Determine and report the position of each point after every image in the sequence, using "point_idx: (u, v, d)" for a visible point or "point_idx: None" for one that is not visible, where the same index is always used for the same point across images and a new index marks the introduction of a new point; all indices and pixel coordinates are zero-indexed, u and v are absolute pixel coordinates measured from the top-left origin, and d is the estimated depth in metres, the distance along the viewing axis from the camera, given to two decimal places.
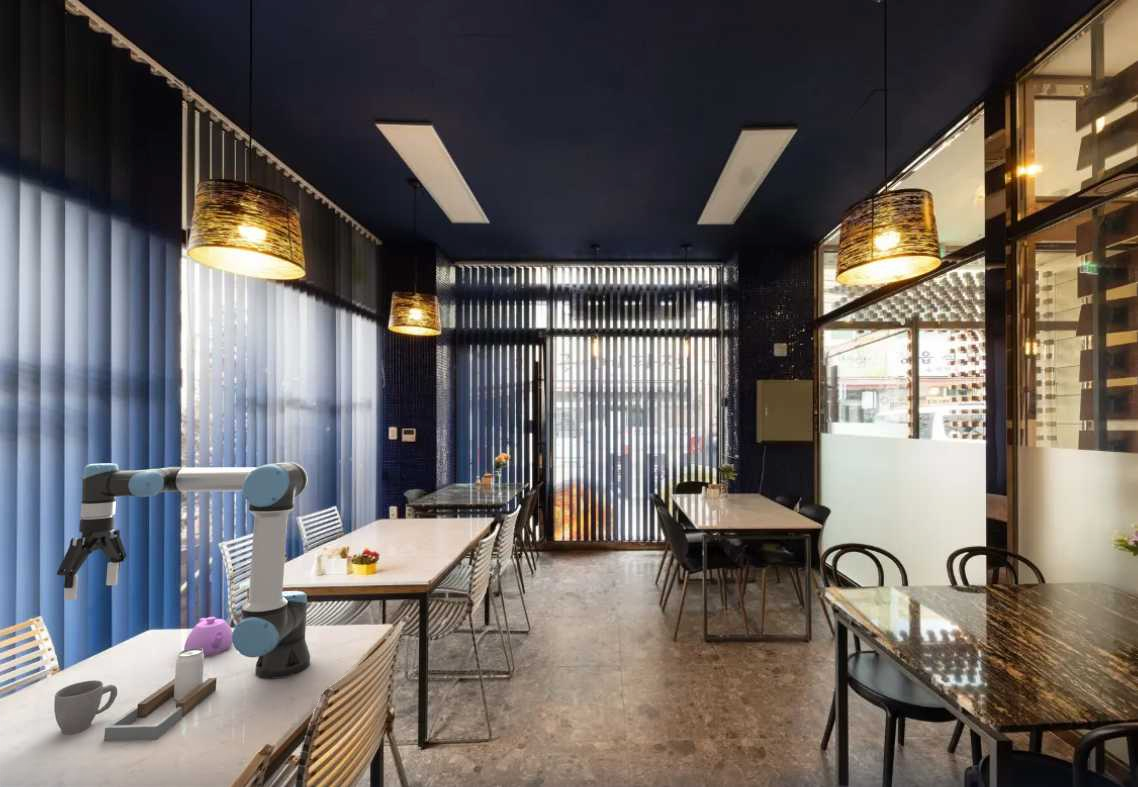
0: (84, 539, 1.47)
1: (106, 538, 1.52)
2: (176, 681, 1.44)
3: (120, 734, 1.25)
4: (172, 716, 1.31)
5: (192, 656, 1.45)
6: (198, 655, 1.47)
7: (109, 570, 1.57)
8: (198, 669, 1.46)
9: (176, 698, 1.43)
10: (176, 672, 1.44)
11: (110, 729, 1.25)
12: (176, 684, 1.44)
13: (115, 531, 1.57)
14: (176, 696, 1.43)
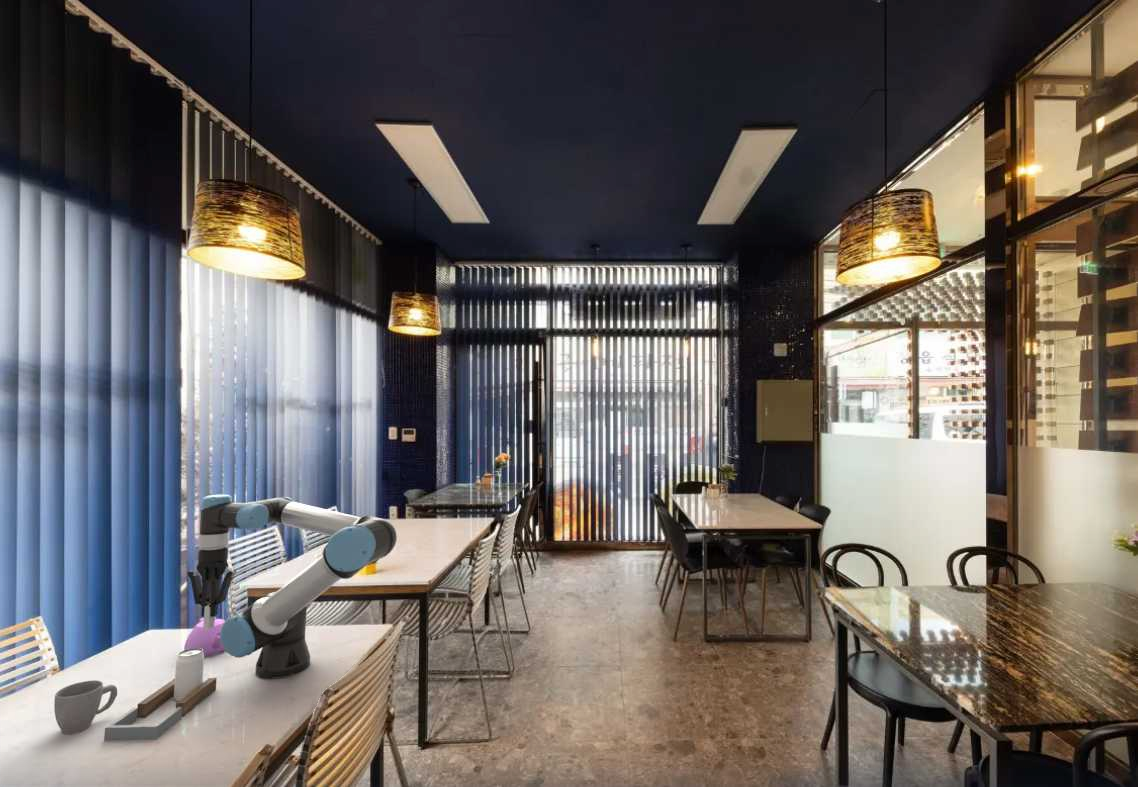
0: (196, 569, 1.56)
1: (212, 570, 1.55)
2: (176, 681, 1.44)
3: (120, 734, 1.25)
4: (172, 716, 1.31)
5: (192, 656, 1.45)
6: (198, 655, 1.47)
7: None
8: (198, 669, 1.46)
9: (176, 698, 1.43)
10: (176, 672, 1.44)
11: (110, 729, 1.25)
12: (176, 684, 1.44)
13: (229, 571, 1.56)
14: (176, 696, 1.43)
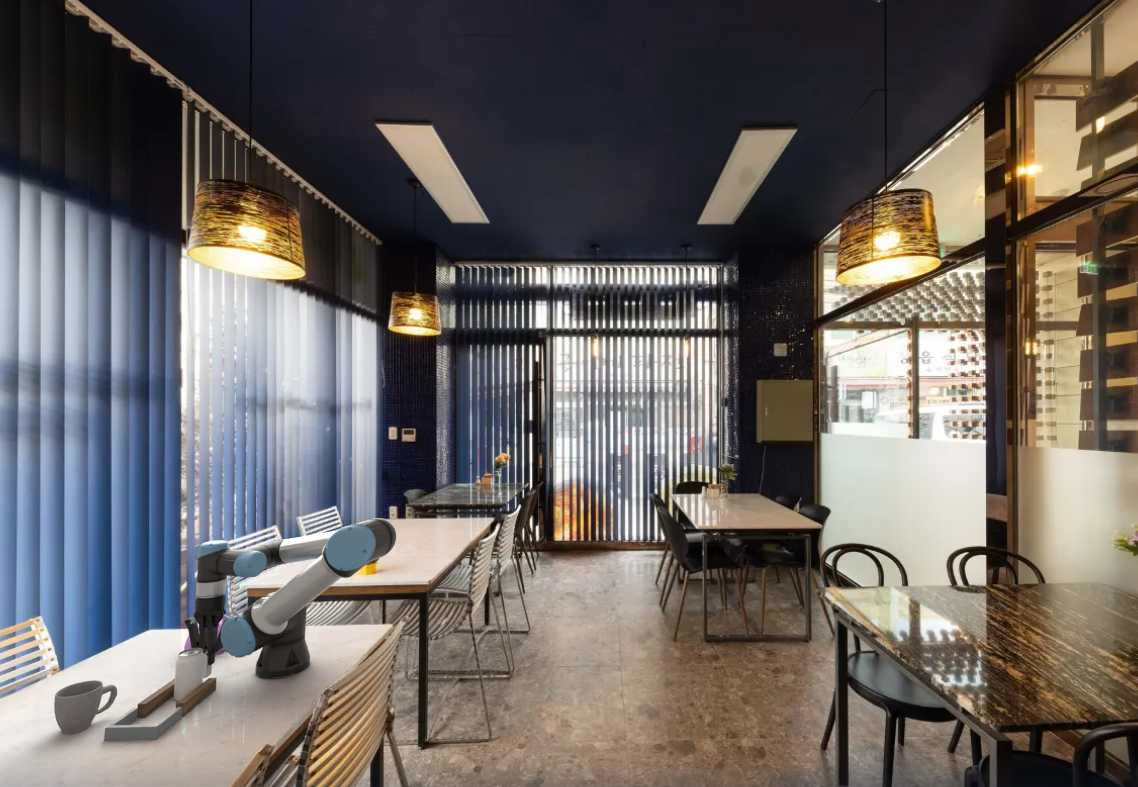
0: (193, 617, 1.55)
1: (210, 618, 1.54)
2: (176, 681, 1.44)
3: (120, 734, 1.25)
4: (172, 716, 1.31)
5: (192, 656, 1.45)
6: (198, 655, 1.47)
7: None
8: (198, 669, 1.46)
9: (176, 698, 1.43)
10: (176, 672, 1.44)
11: (110, 729, 1.25)
12: (176, 684, 1.44)
13: (226, 619, 1.55)
14: (176, 696, 1.43)
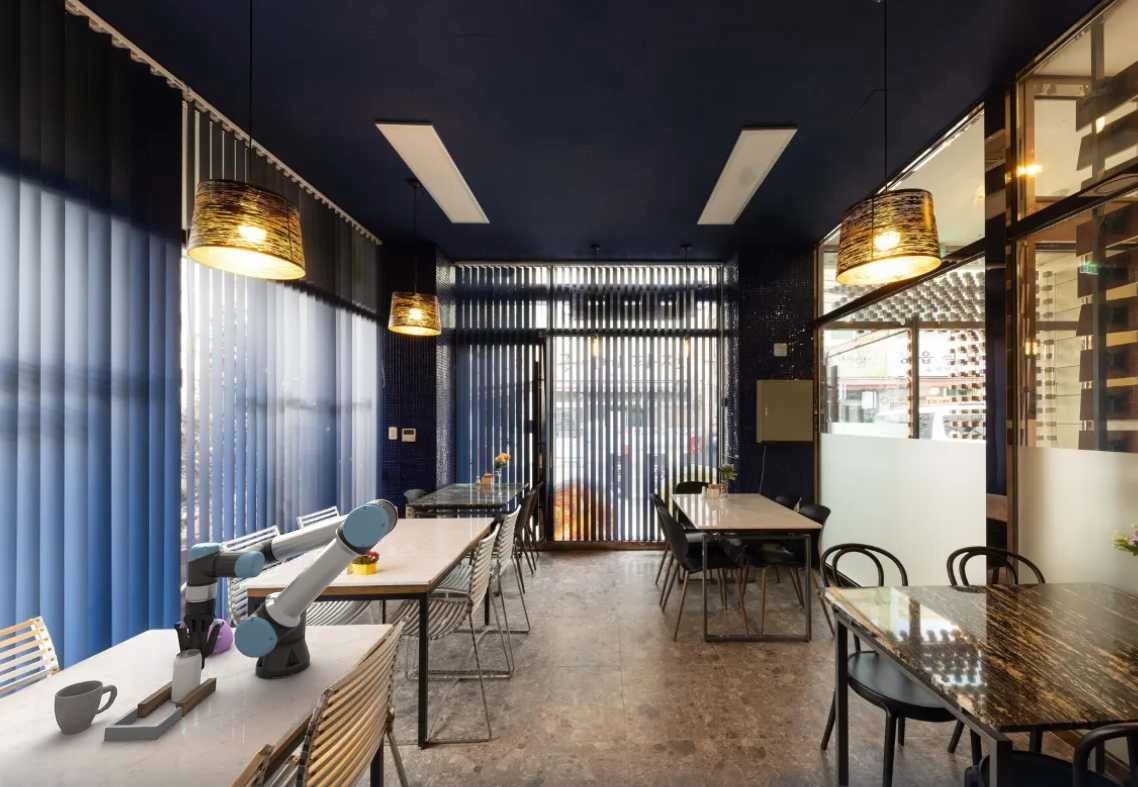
0: (183, 621, 1.51)
1: (199, 623, 1.49)
2: (174, 683, 1.43)
3: (120, 734, 1.25)
4: (172, 716, 1.31)
5: (190, 657, 1.44)
6: (196, 656, 1.46)
7: None
8: (196, 670, 1.45)
9: (174, 699, 1.42)
10: (174, 674, 1.43)
11: (110, 729, 1.25)
12: (174, 686, 1.43)
13: (216, 624, 1.51)
14: (174, 698, 1.42)
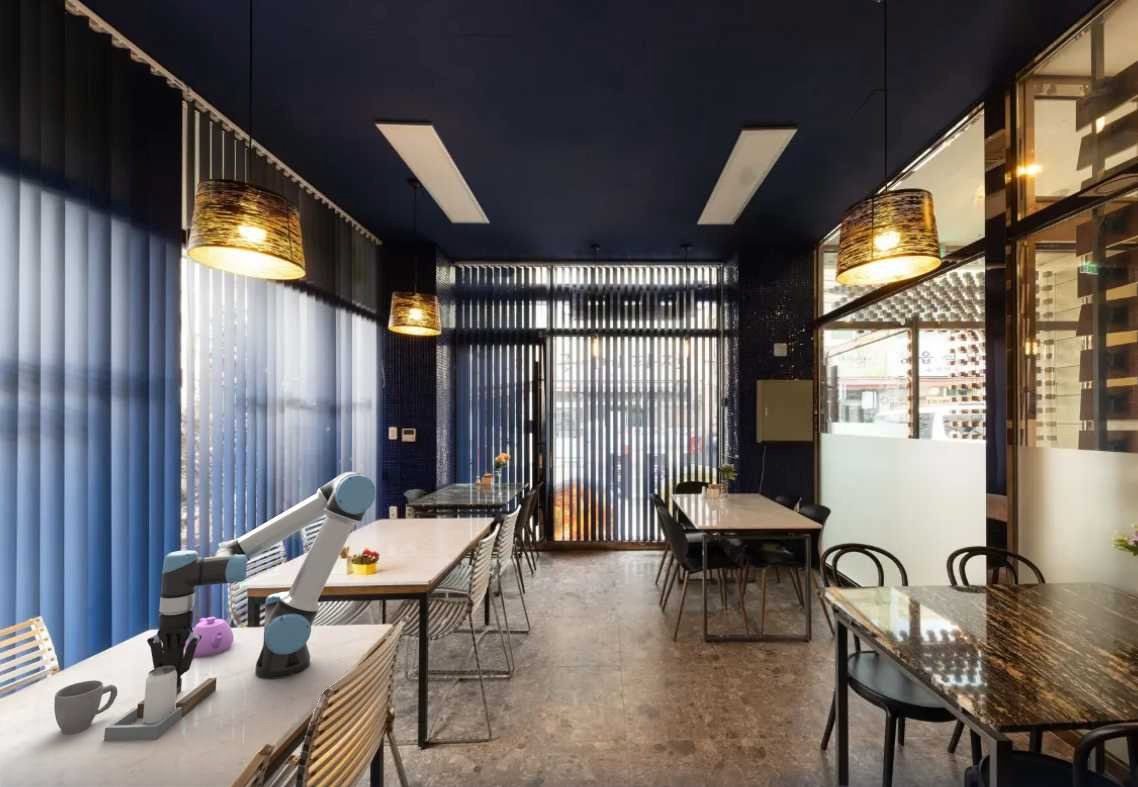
0: (157, 635, 1.40)
1: (174, 637, 1.39)
2: (146, 702, 1.32)
3: (120, 734, 1.25)
4: (172, 716, 1.31)
5: (164, 675, 1.34)
6: (171, 673, 1.35)
7: None
8: (171, 688, 1.35)
9: (146, 721, 1.32)
10: (146, 693, 1.33)
11: (110, 729, 1.25)
12: (146, 706, 1.32)
13: (193, 638, 1.40)
14: (146, 719, 1.32)
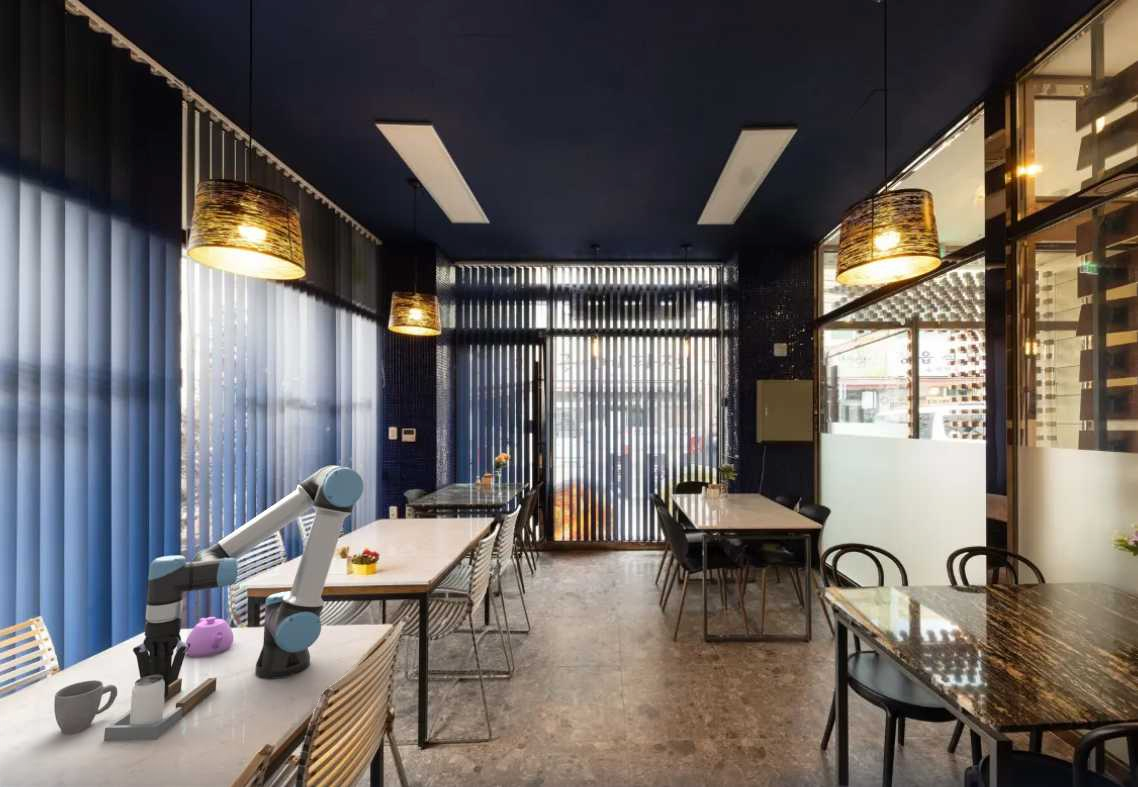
0: (143, 644, 1.35)
1: (162, 645, 1.34)
2: (132, 713, 1.27)
3: (120, 734, 1.25)
4: (172, 716, 1.31)
5: (151, 684, 1.29)
6: (158, 683, 1.30)
7: None
8: (158, 699, 1.30)
9: None
10: (132, 703, 1.28)
11: (110, 729, 1.25)
12: (132, 717, 1.27)
13: (181, 646, 1.35)
14: None
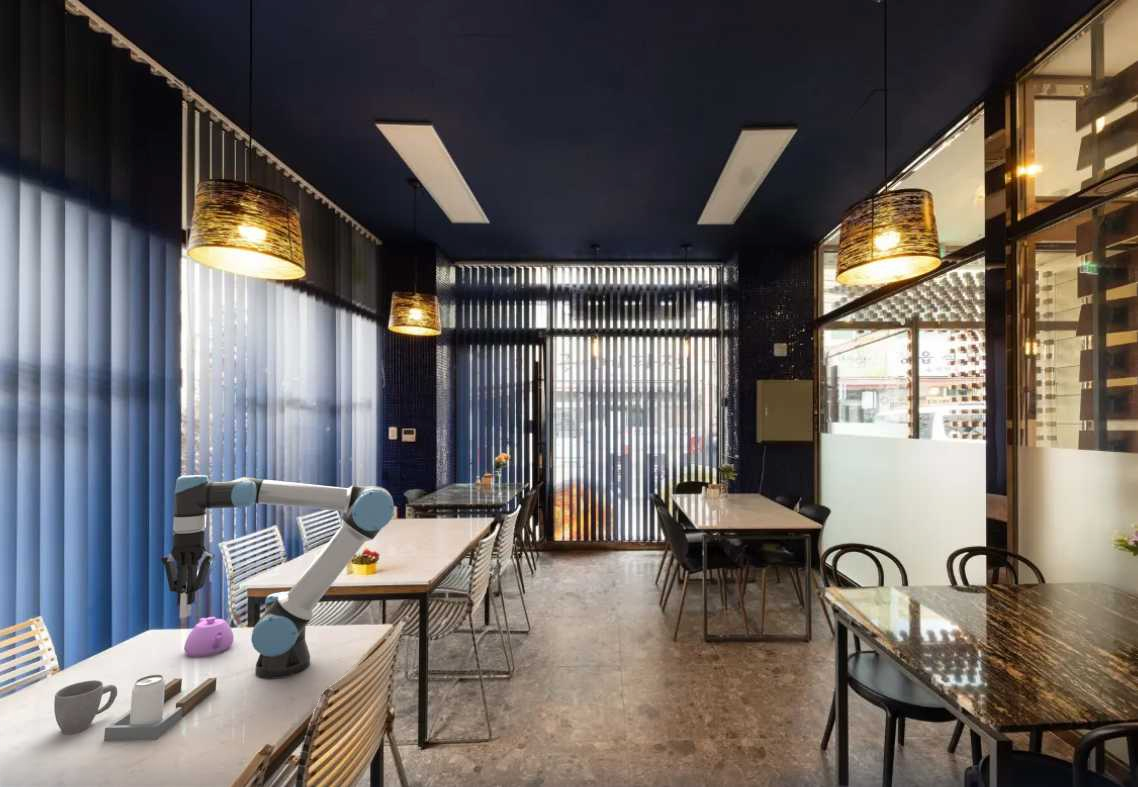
0: (170, 554, 1.46)
1: (189, 555, 1.45)
2: (132, 713, 1.27)
3: (120, 734, 1.25)
4: (172, 716, 1.31)
5: (151, 685, 1.29)
6: (158, 683, 1.30)
7: None
8: (158, 699, 1.30)
9: None
10: (132, 703, 1.28)
11: (110, 729, 1.25)
12: (132, 717, 1.27)
13: (207, 556, 1.47)
14: None
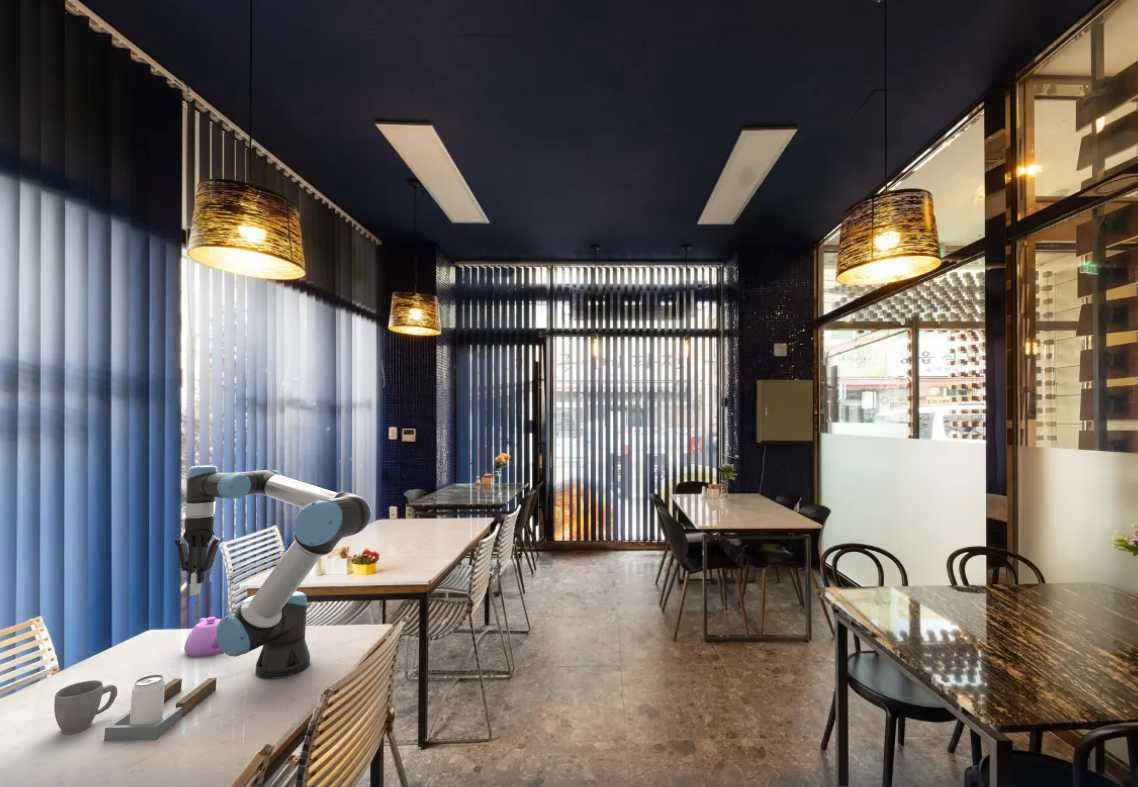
0: (183, 537, 1.60)
1: (199, 538, 1.59)
2: (132, 713, 1.27)
3: (120, 734, 1.25)
4: (172, 716, 1.31)
5: (151, 684, 1.29)
6: (158, 683, 1.30)
7: None
8: (158, 699, 1.30)
9: None
10: (132, 703, 1.28)
11: (110, 729, 1.25)
12: (132, 717, 1.27)
13: (215, 539, 1.60)
14: None
